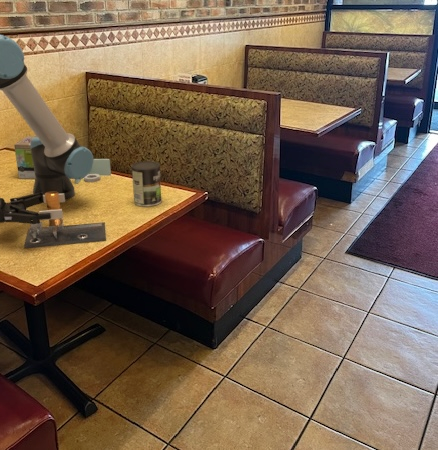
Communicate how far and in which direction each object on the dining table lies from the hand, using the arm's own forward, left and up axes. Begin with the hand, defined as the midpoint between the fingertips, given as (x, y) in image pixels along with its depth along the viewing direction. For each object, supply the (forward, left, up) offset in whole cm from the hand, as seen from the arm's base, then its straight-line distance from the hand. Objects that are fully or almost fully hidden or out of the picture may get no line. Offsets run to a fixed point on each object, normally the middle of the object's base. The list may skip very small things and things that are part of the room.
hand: (63, 205), depth 156 cm
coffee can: (-22, +28, -10) cm, 37 cm away
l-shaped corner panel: (-52, +9, -10) cm, 53 cm away
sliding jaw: (+2, -3, -8) cm, 9 cm away
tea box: (-65, -15, -10) cm, 67 cm away
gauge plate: (+2, 0, -10) cm, 10 cm away
